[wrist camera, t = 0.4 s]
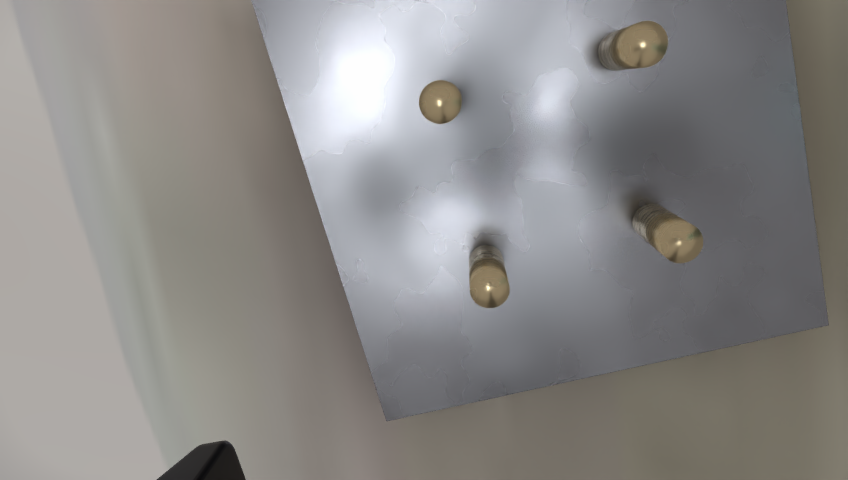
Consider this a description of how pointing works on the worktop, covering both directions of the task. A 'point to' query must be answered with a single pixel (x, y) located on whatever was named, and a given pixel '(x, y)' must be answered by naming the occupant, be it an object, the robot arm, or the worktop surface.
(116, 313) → the worktop surface
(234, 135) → the worktop surface
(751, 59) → the metal base plate
